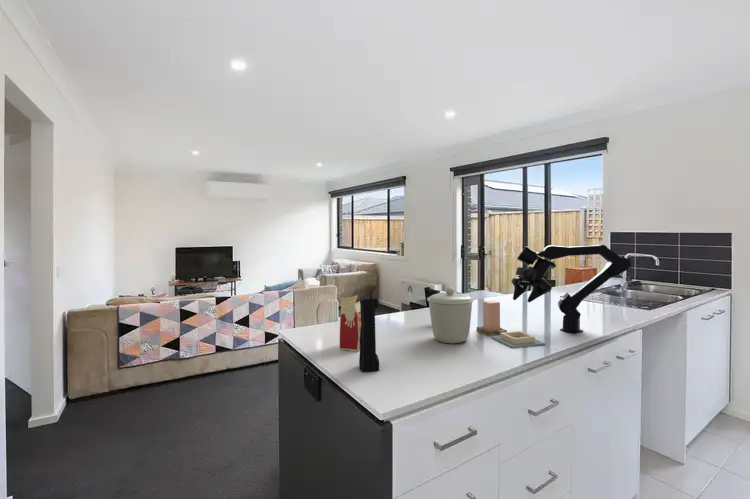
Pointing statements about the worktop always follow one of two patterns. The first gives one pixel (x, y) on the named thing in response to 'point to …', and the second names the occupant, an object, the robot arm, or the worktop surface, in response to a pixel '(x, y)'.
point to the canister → (450, 316)
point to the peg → (491, 315)
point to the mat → (517, 339)
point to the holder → (490, 331)
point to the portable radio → (368, 334)
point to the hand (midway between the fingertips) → (520, 300)
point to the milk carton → (350, 324)
